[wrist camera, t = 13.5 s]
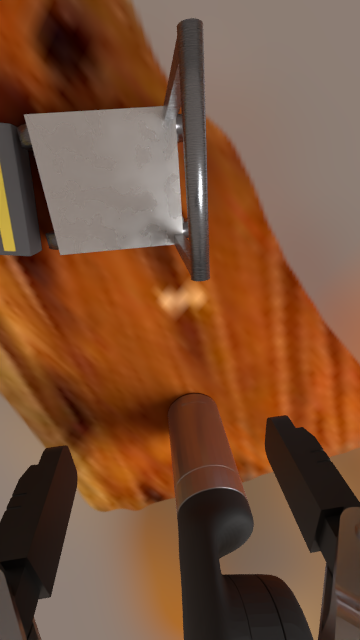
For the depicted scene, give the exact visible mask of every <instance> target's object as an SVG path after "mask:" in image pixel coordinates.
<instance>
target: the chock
mask: <svg viewBox="0 0 360 640" xmlns="http://www.w3.org/2000/svg"><path fill="white" fill-rule="evenodd" d="M41 250H42V247H41V239H40V232H39V225H38V218H37V211H36V203H35V196H34V189H33V182H32V175H31V167H30V160H29V153H28V150H25V149H23V148H22V146H21V143H20V139H19V135H18V132H17V127H16V126H14V125H12V124H8V123H0V255H18V256H32V255H34V254H36V253H38V252H39V251H41Z"/></svg>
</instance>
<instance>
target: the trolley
mask: <svg viewBox="0 0 360 640" xmlns="http://www.w3.org/2000/svg"><path fill="white" fill-rule="evenodd" d="M204 83H205V81H204V45H203V22H202V21H201V20H199V19H194V18H193V19H186V20H183V21H181V22H180V23H179V24H178V25H177V40H176V45H175V50H174V55H173V61H172V65H171V70H170V76H169V81H168V86H167V91H166V96H165V101H164V106H158V107H141V108H125V109H108V110H91V111H74V112H57V113H40V114H24V117H25V121H26V124H23V125H20V126H18V127H17V132H18V135H19V139H20V143H21V146H22V148H23V149H25V150H30V151H34V155H35V159H36V163H37V167H38V171H39V174H40V178H41V182H42V186H43V190H44V194H45V198H46V201H47V205H48V209H49V213H50V217H51V221H52V224H53V228H54V231H51V232H48V233H46V237H47V241H48V245H49V248H50V249H55V250H59V251H60V255H66V254H76V253H87V252H98V251H108V250H119V249H130V248H140V247H151V246H162V245H172V244H175V246H176V248H177V250H178V252H179V254H180V256H181V258H182V260H183V261H184V263H185V265H186V267H187V269H188V271H189V273H190V275H191V280H193V281H205V280H208V279H209V278H210V271H209V233H208V195H207V157H206V119H205V84H204ZM180 107H181V109H182V114H178V112H179V109H180ZM178 142H183V144H184V162H185V179H186V197H187V215H188V219H183V217H182V210H181V194H180V179H179V163H178V148H177V143H178ZM187 238H189V240H188V239H187Z"/></svg>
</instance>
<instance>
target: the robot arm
mask: <svg viewBox="0 0 360 640" xmlns="http://www.w3.org/2000/svg"><path fill="white" fill-rule="evenodd" d="M168 423H169V435H170V445H171V456H172V467H173V478H174V488H175V498H176V509H177V519H178V531H179V559H180V571H181V586H182V605H183V630H184V640H313V637H312V634H311V632H310V629H309V626H308V623H307V621H306V618H305V616H304V614H303V611H302V609H301V607H300V605H299V603H298V601H297V599H296V598H295V596H294V594H293V592H292V591H291V589H290V588H289V587H288V586H287V584H286V583H285V582H284V581H283V580H281V579H280V578H278V577H276V576H272V575H263V574H245V575H244V574H238V575H237V574H236V575H222V574H221V570H220V563H219V559H220V558H221V557H223V556H225V555H227V554H229V553H231V552H233V551H234V550H236V549H237V548H239V547H240V546H241V545H243V544H244V543H245V542H246V541H247V539H248V538H249V537H250V535H251V533H252V531H253V524H254V523H253V517H252V513H251V510H250V507H249V504H248V501H247V497H246V494H245V491H244V488H243V485H242V482H241V479H240V476H239V473H238V470H237V467H236V464H235V461H234V458H233V455H232V452H231V449H230V446H229V443H228V439H227V436H226V433H225V430H224V427H223V424H222V421H221V418H220V415H219V412H218V409H217V406H216V404H215V402H214V401H213V400H212V399H211V398H210V397H208V396H206V395H203V394H189V395H185V396H183V397H180V398H179V399H177V400H176V401H175V402H174V403H173V404H172V405H171V406H170V408H169V411H168ZM265 450H266V455H267V458H268V460H269V463H270V465H271V467H272V469H273V471H274V473H275V476H276V478H277V480H278V482H279V485H280V487H281V489H282V491H283V493H284V496H285V498H286V500H287V502H288V504H289V507H290V509H291V511H292V513H293V515H294V518H295V520H296V522H297V524H298V526H299V529H300V531H301V533H302V535H303V538H304V540H305V542H306V544H307V546H308V549H309V551H310V553H312V552H317V551H321V552H322V554H323V556H324V558H325V561H326V567H325V578H324V588H323V597H322V608H321V617H320V627H319V636H318V640H360V502H359V501H358V499H357V498H356V496H355V495H354V493H353V492H352V491H351V489H350V488H349V486H348V485H347V483H346V482H345V480H344V479H343V477H342V476H341V474H340V473H339V471H338V470H337V469H336V467H335V466H334V465H333V463H332V462H331V461H330V458H329V457H328V455H327V454H326V453H325V452H324V451H323V448H322V447H321V445H320V444H319V442H318V441H317V439H316V438H315V437H314V436H313V435H312V434H311V433H309V432H308V431H307V430H306V429H304V428H303V427H300V428H295V426H294V425H293V423H292V422H291V420H290V419H289V417H288V416H286V415H284V416H277V417H270V418H268V419H267V424H266V435H265ZM76 488H77V470H76V467H75V465H74V462H73V459H72V456H71V453H70V450H69V448H68V446H66V445H65V446H58V447H51V448H46V449H45V450H44V452H43V454H42V456H41V459H40V462H39V464H38V465H31V466H30V467H29V468H28V469H27V471H26V472H25V473H24V474H23V475H22V477H21V478H20V479H19V481H18V483H17V485H16V488H15V490H14V493H13V495H12V498H11V499H10V501H9V504H8V506H7V510H6V511H5V513H4V515H3V517H2V519H1V522H0V640H41V637H40V634H39V631H38V628H37V625H36V622H35V619H34V614H35V610H36V606H37V602H38V599H42V598H49V597H51V594H52V589H53V585H54V581H55V577H56V572H57V568H58V564H59V559H60V556H61V552H62V547H63V543H64V539H65V535H66V530H67V526H68V522H69V518H70V513H71V509H72V505H73V501H74V497H75V492H76Z"/></svg>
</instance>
